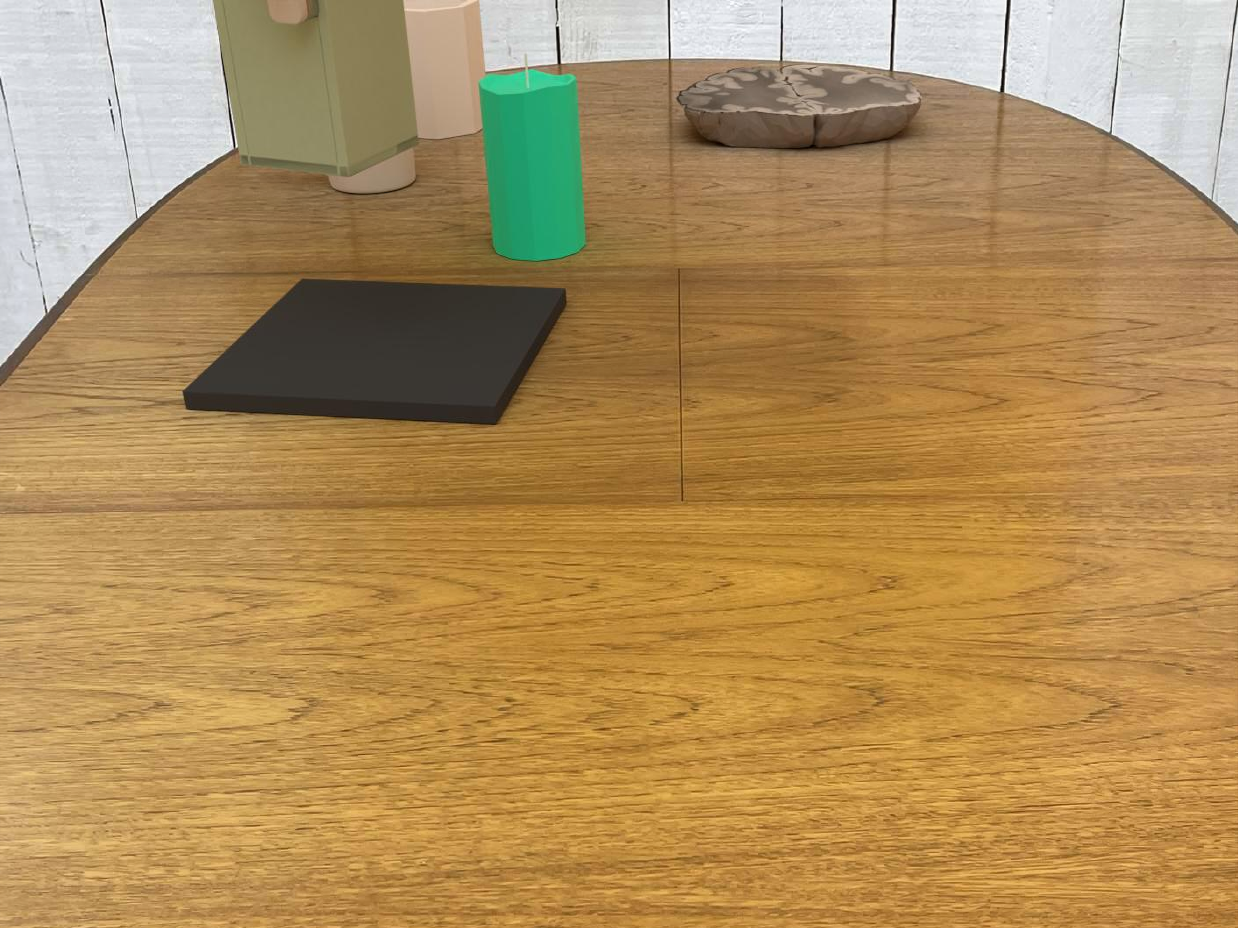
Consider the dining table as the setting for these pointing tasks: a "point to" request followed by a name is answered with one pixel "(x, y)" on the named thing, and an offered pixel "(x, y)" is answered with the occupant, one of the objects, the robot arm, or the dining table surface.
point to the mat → (384, 351)
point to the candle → (533, 164)
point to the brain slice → (799, 106)
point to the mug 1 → (379, 176)
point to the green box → (319, 85)
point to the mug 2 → (445, 65)
